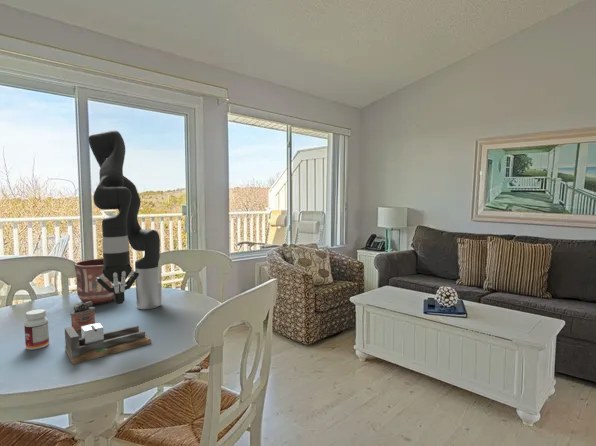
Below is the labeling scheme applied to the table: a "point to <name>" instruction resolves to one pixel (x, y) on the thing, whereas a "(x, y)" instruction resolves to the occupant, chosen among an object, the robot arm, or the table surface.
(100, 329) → the gauge slider
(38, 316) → the pill bottle
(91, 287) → the pottery
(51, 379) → the table surface
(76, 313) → the lighter
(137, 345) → the gauge track
